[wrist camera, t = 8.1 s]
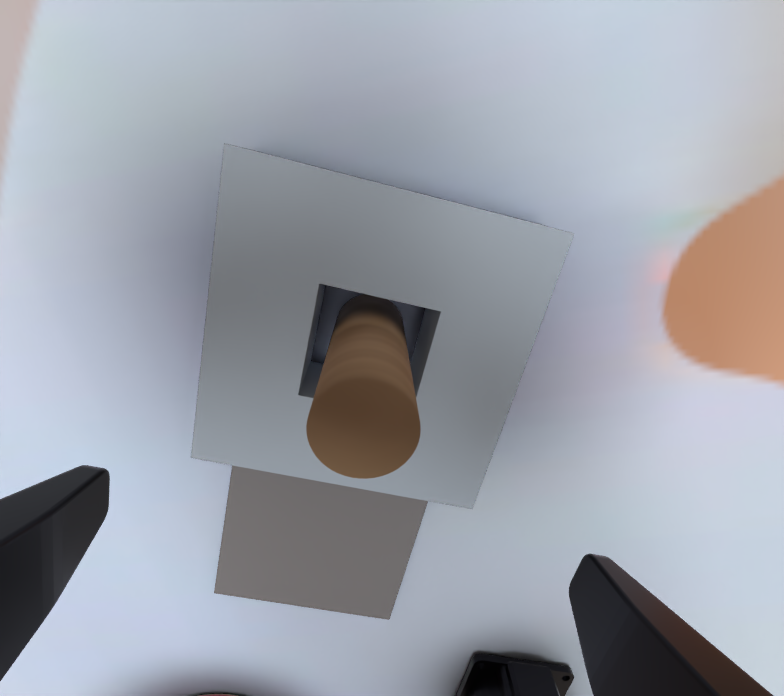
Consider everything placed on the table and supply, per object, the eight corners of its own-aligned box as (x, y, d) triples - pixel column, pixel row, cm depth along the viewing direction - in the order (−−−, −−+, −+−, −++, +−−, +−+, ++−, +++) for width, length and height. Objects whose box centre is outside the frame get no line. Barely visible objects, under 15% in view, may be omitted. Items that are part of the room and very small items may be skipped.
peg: (394, 363, 21) (404, 487, 13) (330, 350, 21) (297, 467, 12) (410, 302, 20) (433, 392, 12) (343, 287, 20) (317, 367, 11)
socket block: (459, 462, 23) (472, 509, 20) (219, 415, 22) (191, 457, 18) (540, 224, 19) (574, 233, 16) (252, 150, 18) (224, 143, 14)
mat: (389, 614, 26) (389, 619, 26) (216, 588, 25) (213, 593, 25) (456, 406, 22) (457, 409, 22) (248, 363, 21) (246, 365, 20)
